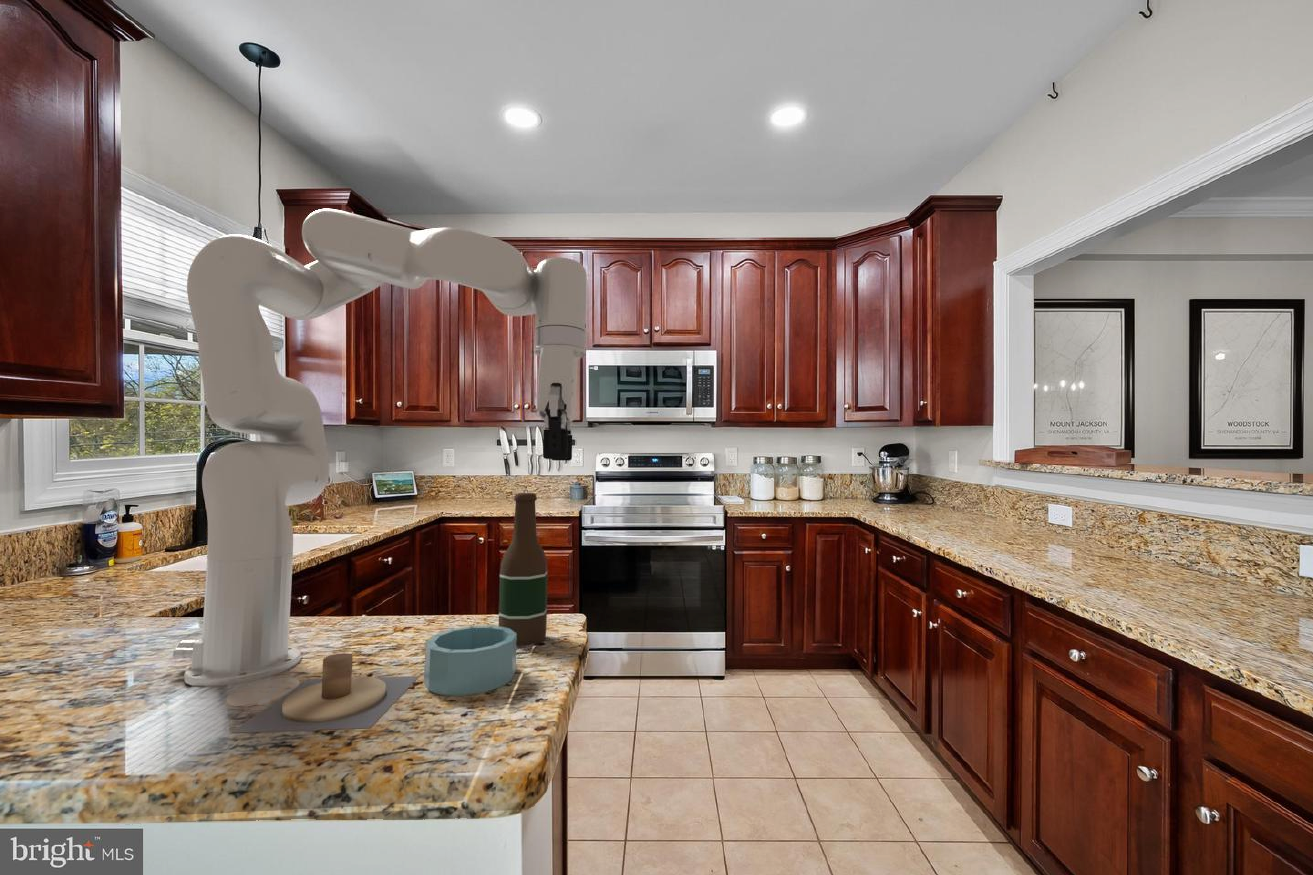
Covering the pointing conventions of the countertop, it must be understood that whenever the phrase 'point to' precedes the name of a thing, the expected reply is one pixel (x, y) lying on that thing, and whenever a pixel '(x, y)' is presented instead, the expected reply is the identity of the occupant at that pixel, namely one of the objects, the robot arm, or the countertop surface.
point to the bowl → (470, 660)
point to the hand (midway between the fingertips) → (558, 459)
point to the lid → (334, 693)
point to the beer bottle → (524, 577)
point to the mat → (365, 719)
